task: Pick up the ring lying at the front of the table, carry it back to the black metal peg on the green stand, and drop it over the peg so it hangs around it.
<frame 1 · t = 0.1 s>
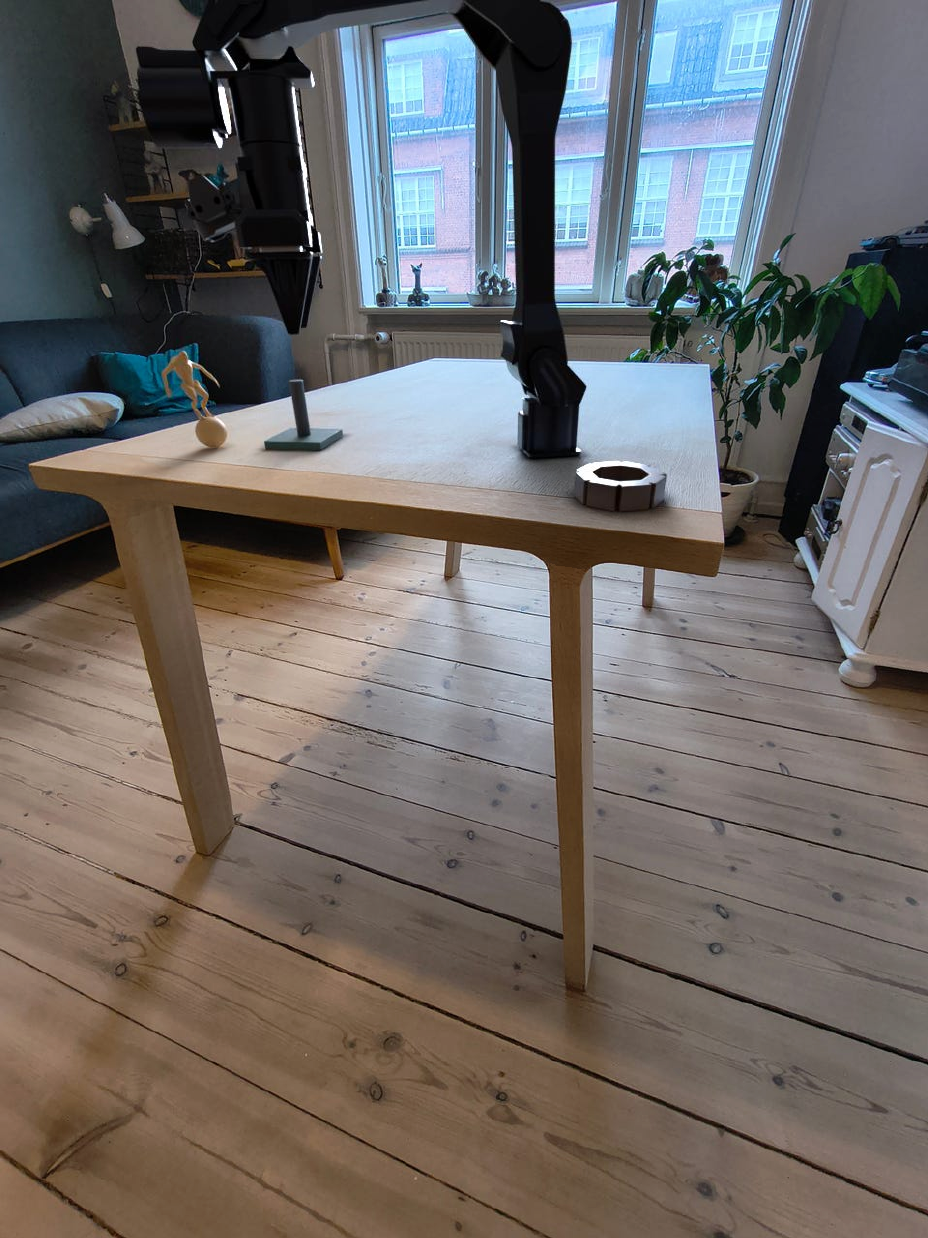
hand: (298, 330, 64), 15 cm above the table, tool pointing down, fingers open, 9 cm apart
ring: (617, 496, 59), on the table
peg stand: (305, 442, 82), on the table
figurine: (210, 447, 81), on the table
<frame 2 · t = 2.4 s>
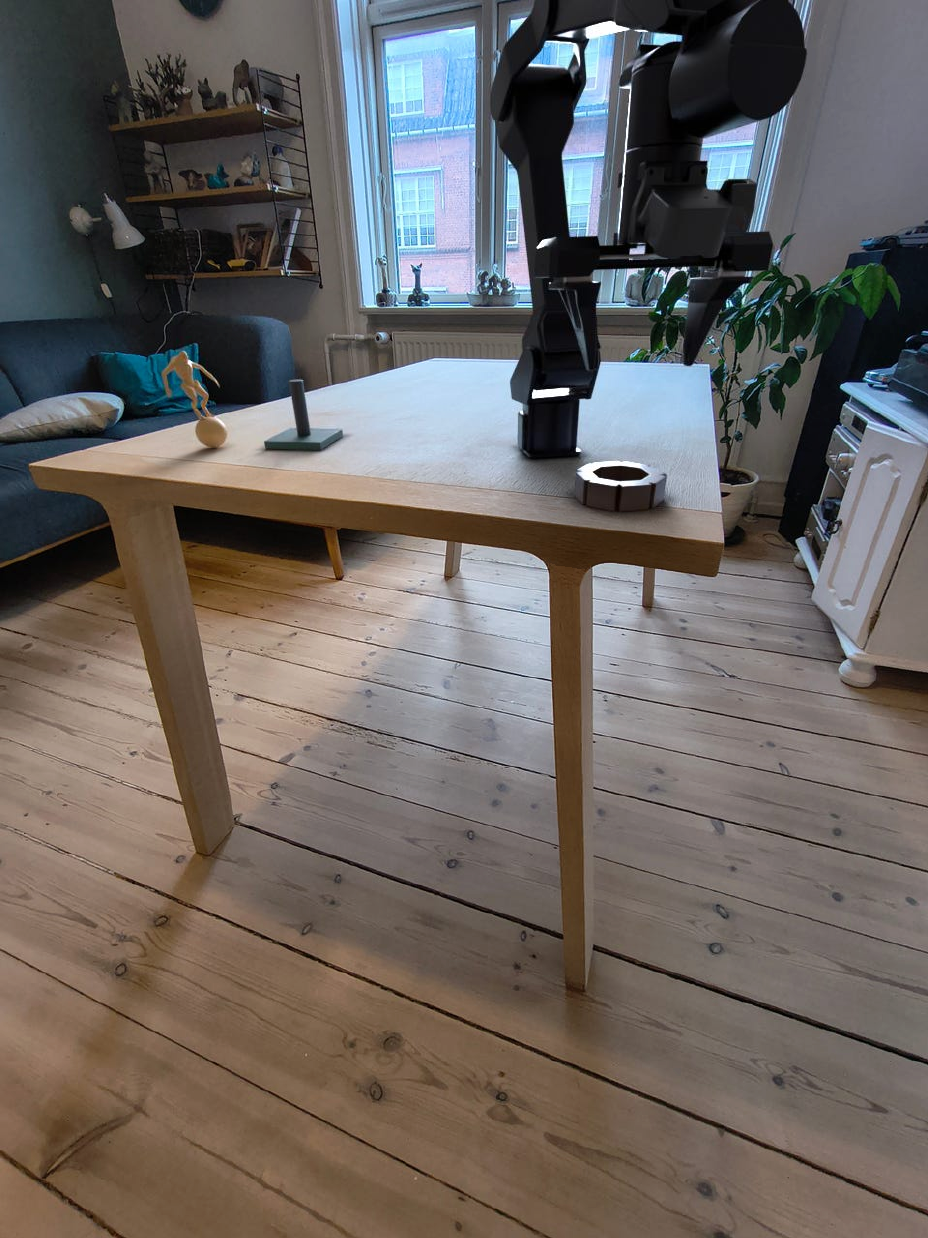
hand: (639, 368, 54), 12 cm above the table, tool pointing down, fingers open, 9 cm apart
nothing on the table moved.
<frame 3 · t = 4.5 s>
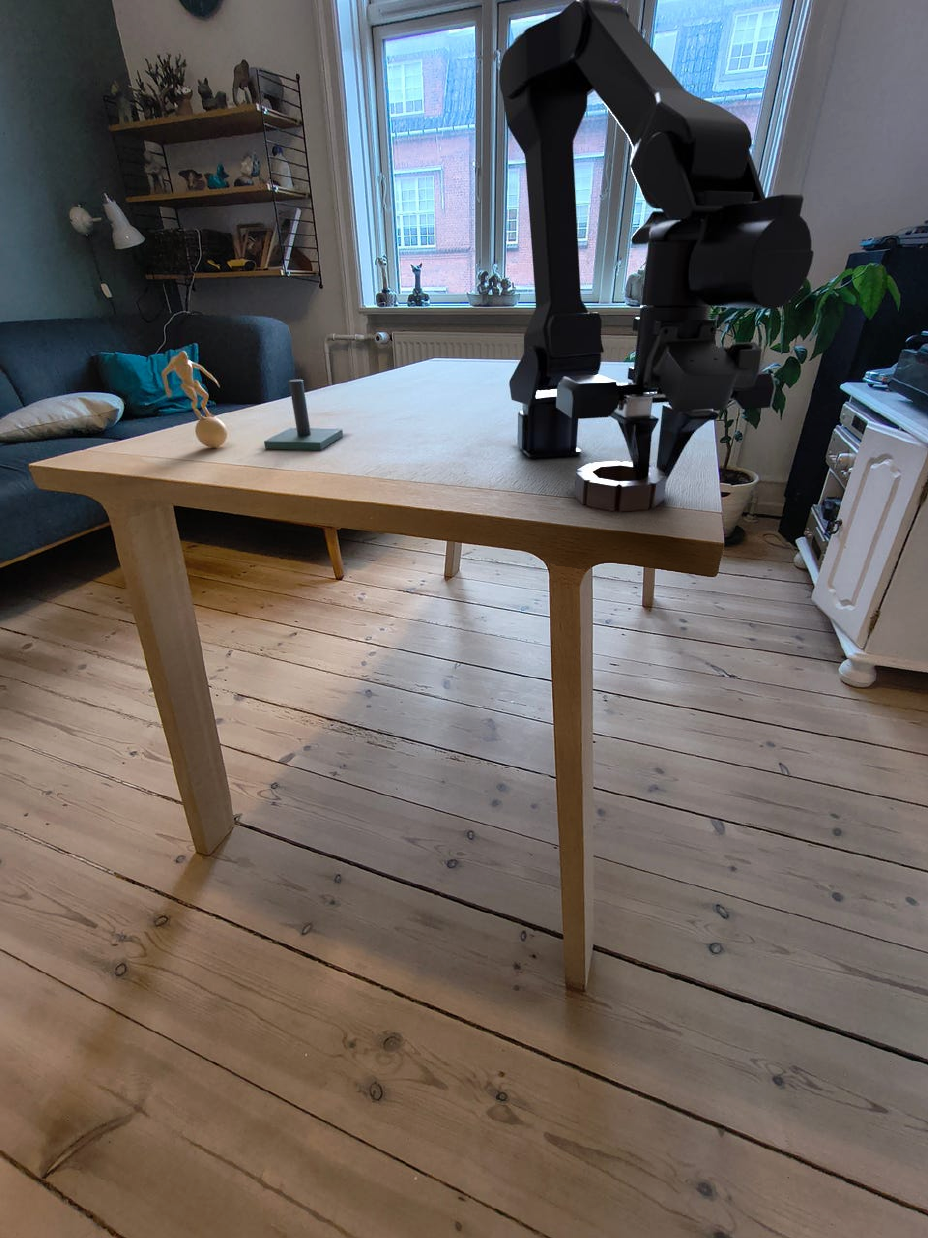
hand: (651, 484, 58), 1 cm above the table, tool pointing down, fingers closed on ring, 2 cm apart
ring: (617, 496, 59), on the table, touching gripper
everything else where it was.
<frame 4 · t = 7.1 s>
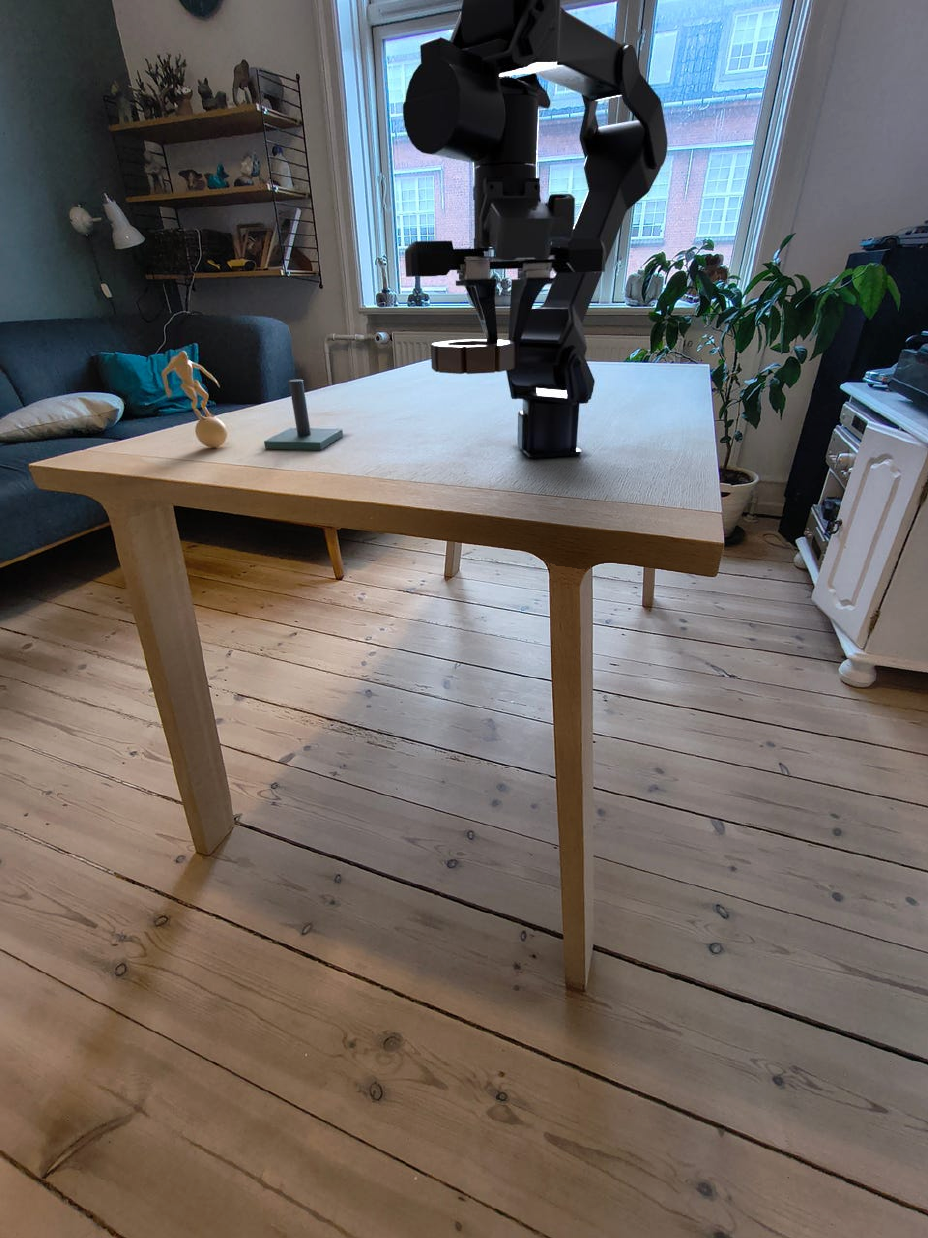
hand: (503, 356, 61), 12 cm above the table, tool pointing down, fingers closed on ring
ring: (472, 368, 61), point 11 cm above the table, touching gripper
everything else where it was.
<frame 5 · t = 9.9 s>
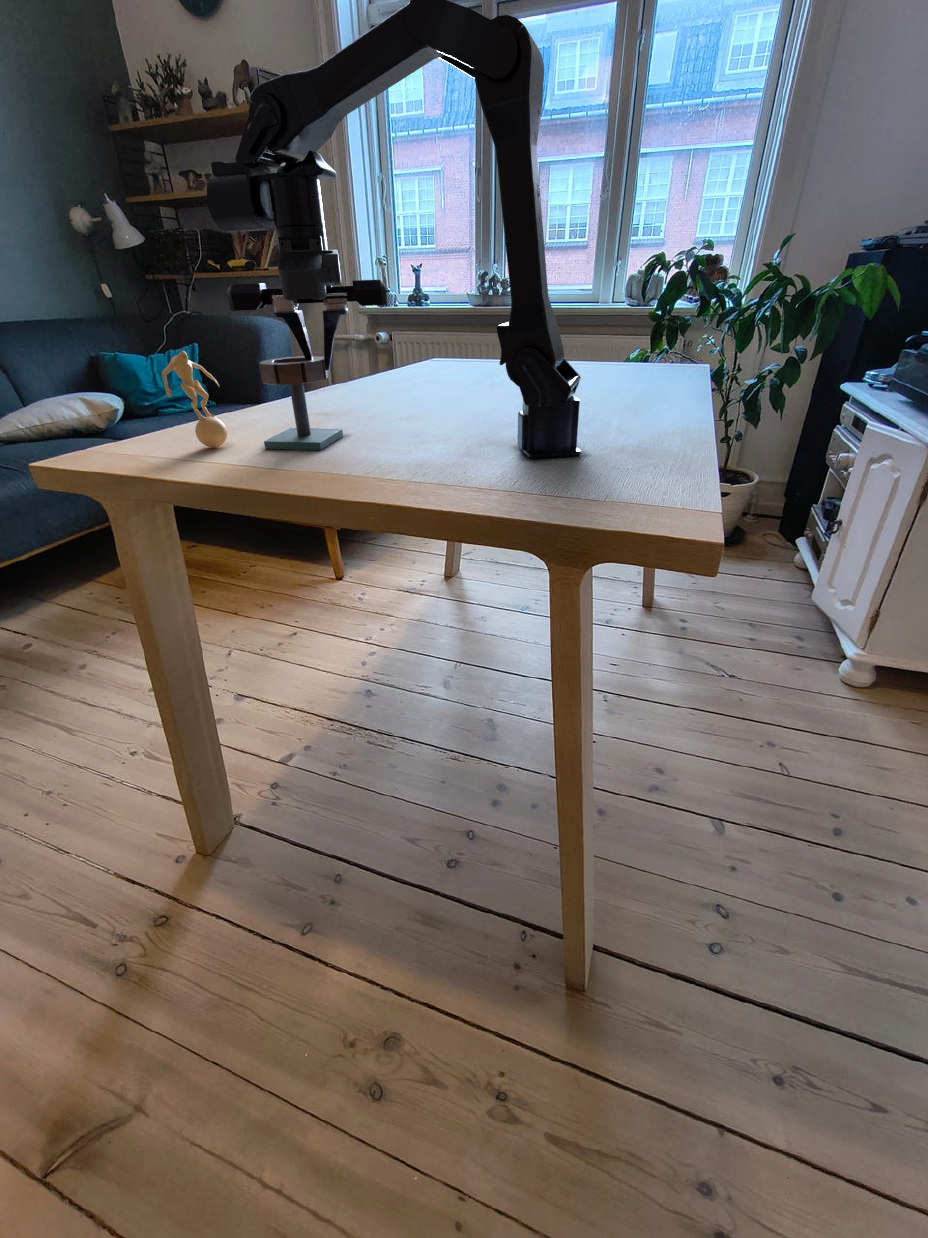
hand: (320, 370, 78), 9 cm above the table, tool pointing down, fingers closed on ring
ring: (296, 379, 78), point 8 cm above the table, touching gripper
everything else where it was.
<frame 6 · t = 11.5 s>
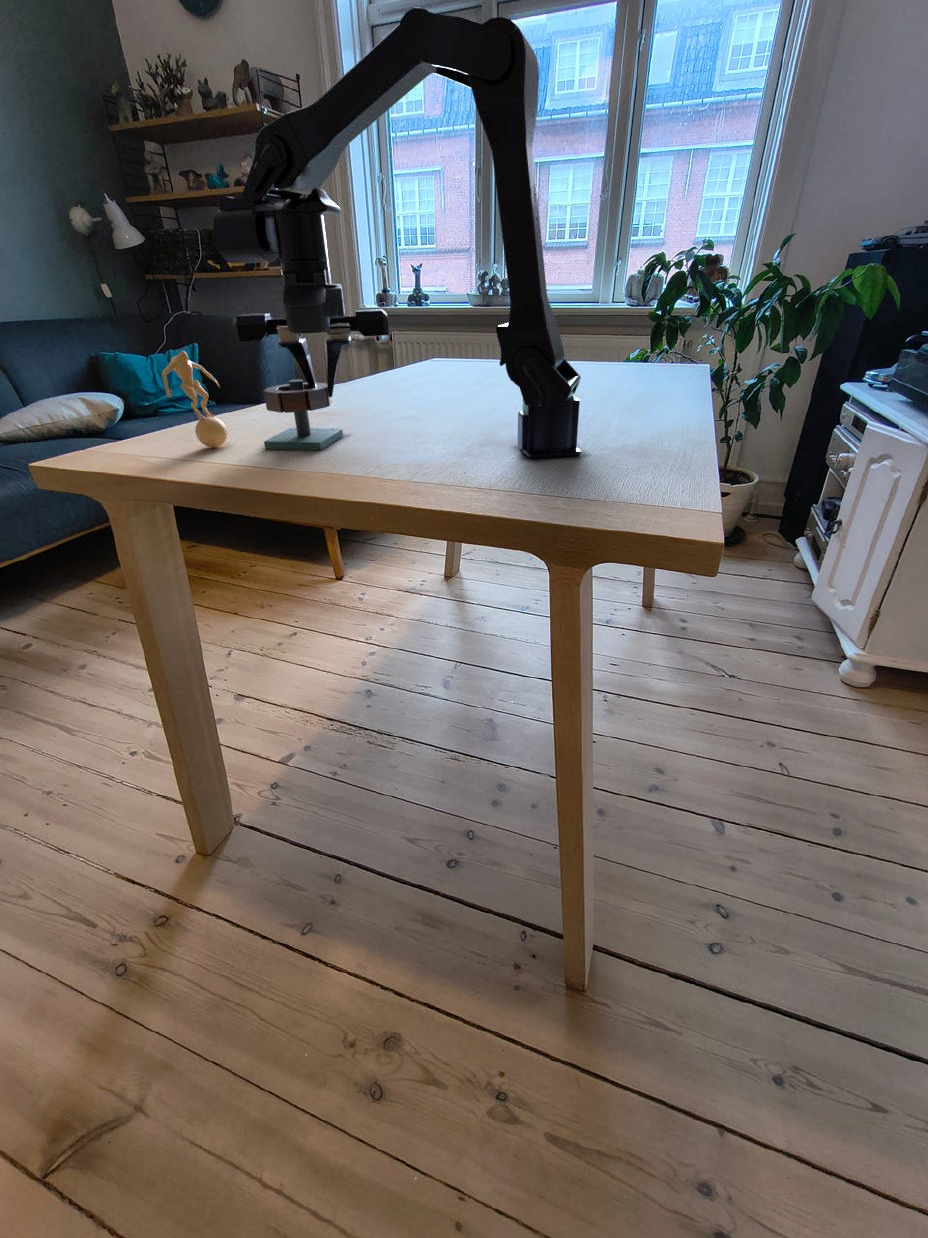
hand: (323, 396, 79), 6 cm above the table, tool pointing down, fingers closed on ring
ring: (299, 406, 79), point 5 cm above the table, touching gripper
everything else where it was.
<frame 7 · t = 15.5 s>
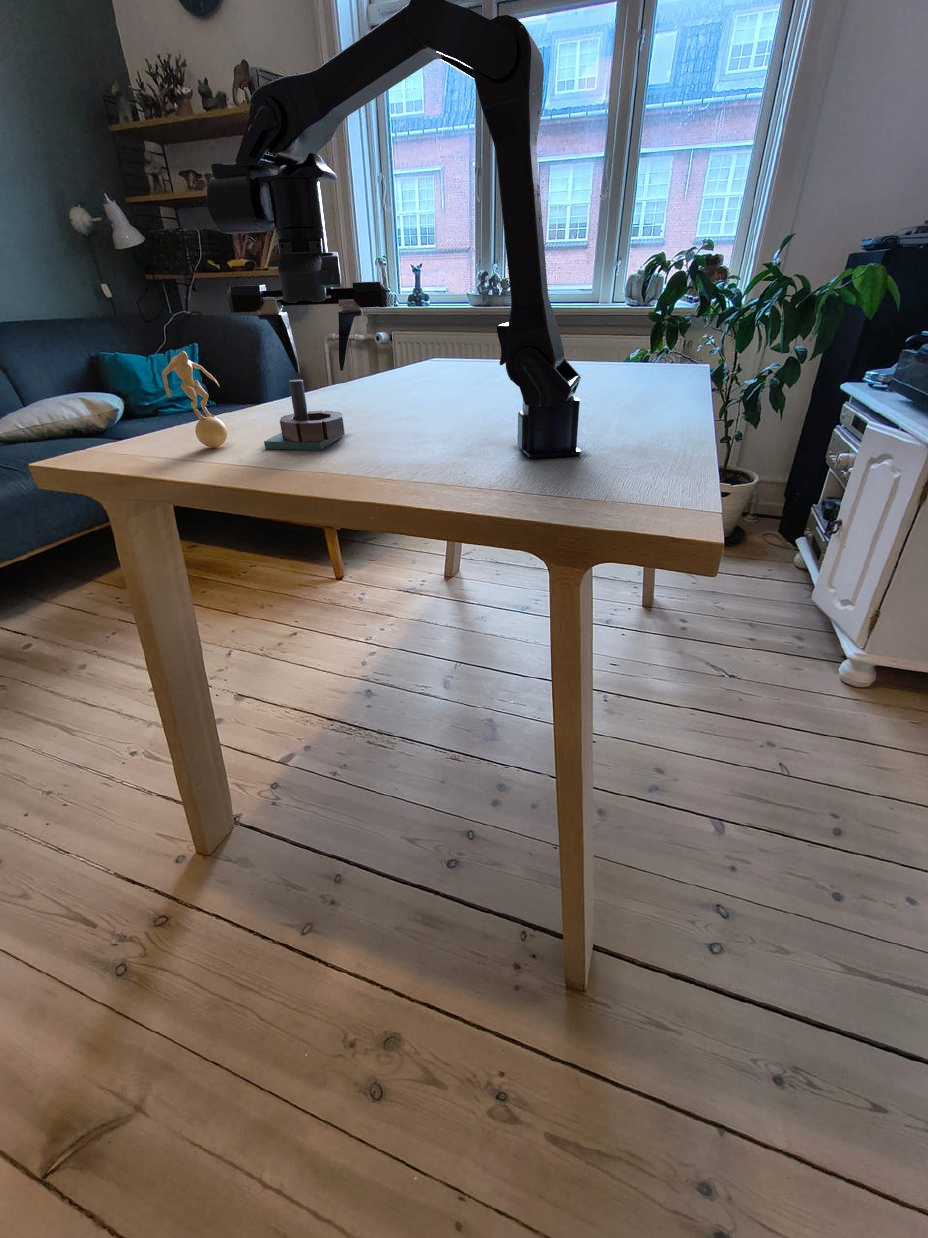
hand: (320, 371, 78), 9 cm above the table, tool pointing down, fingers open, 5 cm apart
ring: (314, 434, 81), point 1 cm above the table, touching peg stand
everything else where it was.
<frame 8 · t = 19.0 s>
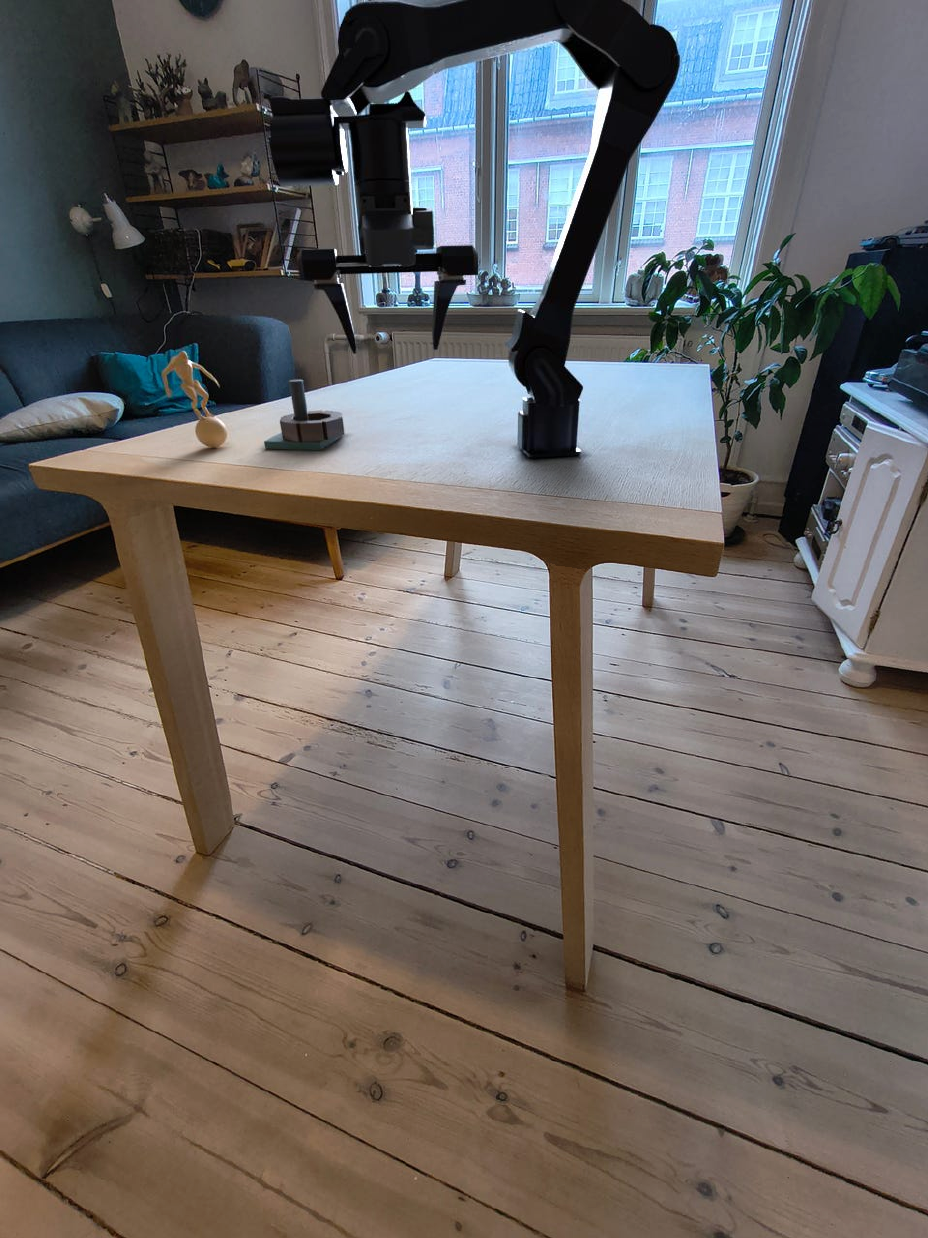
hand: (395, 351, 68), 12 cm above the table, tool pointing down, fingers open, 9 cm apart
nothing on the table moved.
at the end: ring 1.5 cm off-centre on the peg stand, point 1.0 cm above the peg stand's base; the gripper is holding nothing; ring tilted 0° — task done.
